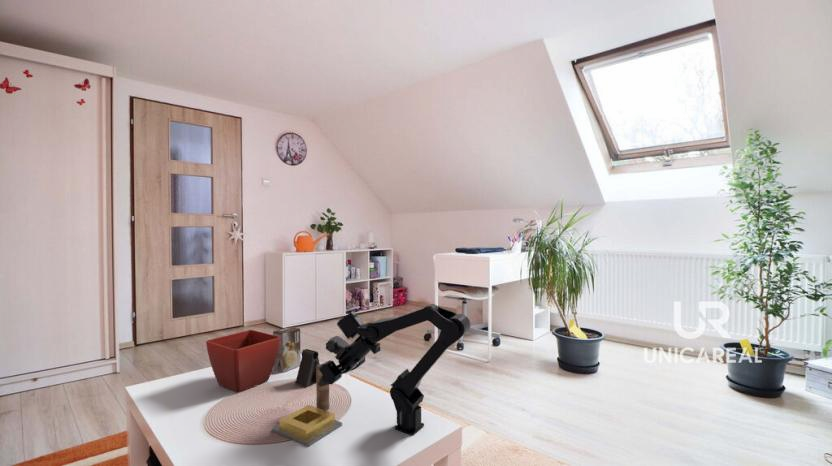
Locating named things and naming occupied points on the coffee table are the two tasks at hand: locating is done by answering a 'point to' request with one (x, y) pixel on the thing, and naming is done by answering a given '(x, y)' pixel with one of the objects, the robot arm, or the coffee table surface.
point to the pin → (321, 392)
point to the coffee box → (288, 349)
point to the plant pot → (243, 358)
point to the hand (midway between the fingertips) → (327, 379)
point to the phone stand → (307, 368)
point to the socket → (307, 425)
